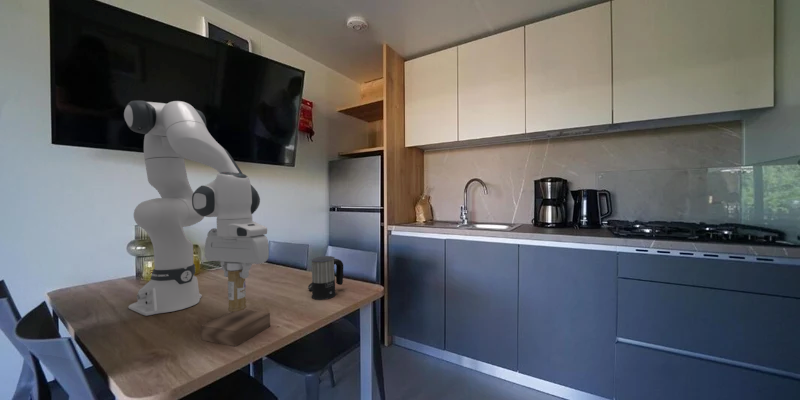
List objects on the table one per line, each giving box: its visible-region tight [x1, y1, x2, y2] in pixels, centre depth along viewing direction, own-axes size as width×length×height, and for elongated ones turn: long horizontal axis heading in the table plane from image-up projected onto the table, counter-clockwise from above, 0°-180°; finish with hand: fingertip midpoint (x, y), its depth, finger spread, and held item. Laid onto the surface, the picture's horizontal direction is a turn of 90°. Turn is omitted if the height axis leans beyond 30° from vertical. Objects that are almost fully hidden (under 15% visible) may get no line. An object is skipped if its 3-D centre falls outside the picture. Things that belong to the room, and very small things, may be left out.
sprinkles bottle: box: [227, 262, 247, 312], centre depth 81 cm, size 5×5×14 cm
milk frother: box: [307, 255, 344, 301], centre depth 114 cm, size 14×16×15 cm
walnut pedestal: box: [200, 308, 271, 347], centre depth 81 cm, size 12×12×4 cm
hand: (236, 277), depth 81 cm, fingers closed on sprinkles bottle, 4 cm apart
